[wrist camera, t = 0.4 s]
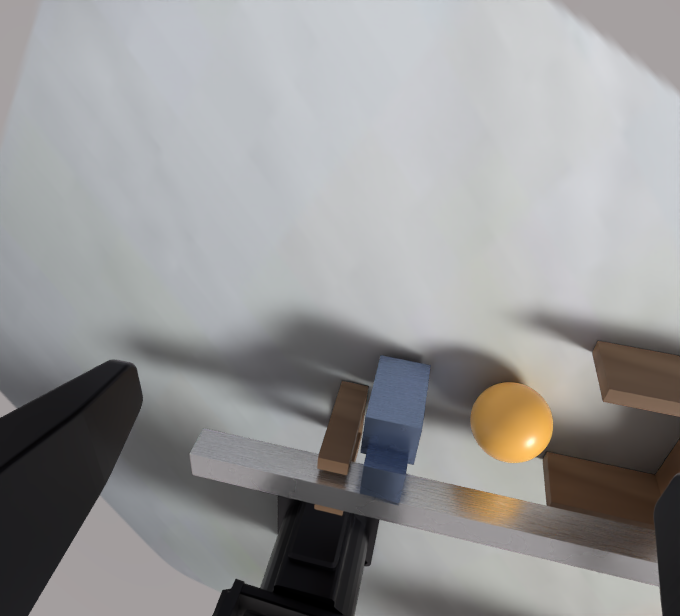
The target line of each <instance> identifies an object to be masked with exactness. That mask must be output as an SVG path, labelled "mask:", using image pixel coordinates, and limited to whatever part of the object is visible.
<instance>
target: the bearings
mask: <svg viewBox="0 0 680 616" xmlns="http://www.w3.org/2000/svg"><path fill="white" fill-rule="evenodd" d="M368 387H369V386H365V385H360V384H355V383H350V382H345V381H342V382H341V385H340V389H339V392H338V395H337V398H336V401H335V405H334V408H333V411H332V414H331V417H330V420H329V424H328V427H327V430H326V433H325V436H324V440H323V443H322V446H321V449H320V452H319V456H318V463H317V469H321V470H326V471H330V472H334V473H339V474H343V475H347V474H348V470H349V466H350V462H355V461H356V457H357V453H358V449H359V445H360V441H361V437H362V429H363V422H364V415H365V408H366V401H367V394H368ZM314 509H316V510H320V511H325V512H329V513H333V514H337V515H341V516H342V515H343V511H342V510H338V509H333V508H329V507H325V506H321V505H317V504H315V506H314Z"/></svg>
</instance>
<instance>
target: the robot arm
mask: <svg viewBox="0 0 680 616" xmlns="http://www.w3.org/2000/svg"><path fill="white" fill-rule="evenodd" d="M142 401H143V395H142V390H141V386H140V381H139V377H138V372H137V368H136V366H135V365H134V364H133V363H130V362H125V361H120V360H109V361H107V362H105V363H103V364H101V365H99V366H97V367H95V368H93V369H91V370H90V371H88V372H86V373H84V374H82V375H80V376H78V377H76V378H74V379H73V380H71V381H69V382H67V383H65V384H63V385H61V386H59V387H57V388H56V389H54V390H52V391H50V392H48V393H46V394H44V395H42V396H40V397H39V398H37V399H35V400H33V401H31V402H29V403H27V404H25V405H24V406H22V407H20V408H18V409H16V410H14V411H12V412H10V413H9V414H7V415H5V416H3V417H1V418H0V616H28V615H29V613H30V611H31V610H32V608H33V606H34V605H35V603H36V601H37V600H38V598H39V596H40V595H41V593H42V591H43V590H44V588H45V586H46V585H47V583H48V581H49V579H50V578H51V576H52V574H53V572H54V571H55V569H56V568H57V566H58V564H59V563H60V561H61V559H62V558H63V556H64V554H65V552H66V551H67V549H68V548H69V546H70V544H71V542H72V541H73V539H74V537H75V536H76V534H77V532H78V531H79V529H80V527H81V526H82V524H83V522H84V520H85V519H86V517H87V516H88V514H89V512H90V510H91V509H92V507H93V505H94V504H95V502H96V500H97V499H98V497H99V495H100V493H101V492H102V490H103V488H104V486H105V485H106V483H107V481H108V479H109V477H110V475H111V472H112V470H113V468H114V466H115V464H116V462H117V459H118V457H119V455H120V453H121V451H122V449H123V446H124V444H125V442H126V440H127V438H128V435H129V433H130V431H131V429H132V427H133V424H134V422H135V420H136V418H137V416H138V414H139V411H140V409H141V406H142ZM314 506H315V504H312V503H308V502H304V501H300V500H296V499H292V498H287V497H283V496H279V495H278V536H277V539H276V542H275V545H274V548H273V551H272V554H271V557H270V560H269V563H268V566H267V569H266V572H265V575H264V578H263V581H262V584H261V587H260V588H258V587H254V586H251V585H248V584H245V582H244V581H241V580H238V579H235V582H234V584H233V586H232V588H231V589H226V590H222V593H221V595H220V598H219V600H218V603H217V606H216V608H215V611H214V613H213V615H212V616H354V615H355V610H356V605H357V600H358V595H359V589H360V584H361V579H362V574H363V569H364V566H370V564H371V560H372V555H373V550H374V545H375V540H376V535H377V530H378V525H379V519H375V518H371V517H367V516H363V515H358V514H354V513H350V512H346V511H343V515H342V516H341V515H337V514H333V513H329V512H325V511H320V510H316V509H314ZM654 529H655V540H656V552H657V563H658V574H659V586H660V597H661V606H662V615H663V616H680V473H678V474H676V475H675V476H674V477H673V478H672V480H671V481H670V483H669V484H668V486H667V487H666V489H665V490H664V492H663V493H662V495H661V496H660V498H659V499H658V501H657V503H656V505H655V508H654Z"/></svg>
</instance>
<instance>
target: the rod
mask: <svg viewBox="0 0 680 616" xmlns="http://www.w3.org/2000/svg"><path fill="white" fill-rule="evenodd" d="M430 366H431V365H427V364H422V363H417V362H412V361H407V360H402V359H397V358H392V357H387V356H382V355H381V356H380V360H379V364H378V368H377V372H376V376H375V380H374V384H373V388H372V392H371V397H370V401H369V405H368V409H367V413H366V417H365V424H364V431H363V438H362V445H361V452H360V453H363V454H366V458H365V462H364V464H360V463H355V462H350V466H349V470H348V474H347V475H343V474H339V473H334V472H330V471H326V470H321V469H317V463H318V456H319V454H316V453H311V452H307V451H303V450H298V449H294V448H289V447H285V446H281V445H276V444H272V443H267V442H263V441H258V440H254V439H250V438H245V437H241V436H236V435H232V434H228V433H223V432H219V431H214V430H210V429H206V428H203V430H202V432H201V433H200V435H199V437H198V439H197V441H196V443H195V444H194V446H193V448H192V450H191V452H190V454H189V455H190V461H191V468H192V474H193V475H196V476H200V477H204V478H208V479H212V480H216V481H221V482H225V483H229V484H233V485H237V486H241V487H246V488H250V489H254V490H258V491H262V492H267V493H271V494H275V495H279V496H283V497H287V498H292V499H296V500H300V501H304V502H308V503H312V504H317V505H321V506H325V507H329V508H333V509H338V510H342V511H346V512H350V513H354V514H358V515H363V516H367V517H371V518H375V519H379V520H383V521H388V522H392V523H396V524H400V525H404V526H409V527H413V528H417V529H421V530H425V531H429V532H434V533H438V534H442V535H446V536H450V537H454V538H459V539H463V540H467V541H471V542H475V543H480V544H484V545H488V546H492V547H496V548H500V549H505V550H509V551H513V552H517V553H521V554H525V555H530V556H534V557H538V558H542V559H546V560H551V561H555V562H559V563H563V564H567V565H571V566H576V567H580V568H584V569H588V570H592V571H596V572H601V573H605V574H609V575H613V576H617V577H622V578H626V579H630V580H634V581H638V582H642V583H647V584H651V585H655V586H659V574H658V563H657V552H656V540H655V530H651V529H647V528H642V527H638V526H633V525H629V524H624V523H620V522H616V521H611V520H607V519H602V518H598V517H594V516H589V515H585V514H580V513H576V512H572V511H567V510H563V509H558V508H554V507H549V506H545V505H541V504H536V503H532V502H527V501H523V500H519V499H514V498H510V497H505V496H501V495H497V494H492V493H488V492H483V491H479V490H475V489H470V488H466V487H461V486H457V485H452V484H448V483H444V482H439V481H435V480H430V479H426V478H422V477H417V476H413V475H408V474H406V470H407V463H408V464H412V465H414V461H415V457H416V453H417V448H418V444H419V440H420V436H421V432H422V426H423V419H424V411H425V404H426V396H427V389H428V381H429V374H430ZM659 587H660V586H659Z"/></svg>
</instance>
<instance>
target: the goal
mask: <svg viewBox="0 0 680 616" xmlns="http://www.w3.org/2000/svg"><path fill="white" fill-rule="evenodd" d="M592 354H593V359H594V363H595V368H596V372H597V377H598V381H599V386H600V390H601V395H602V399H603V402H608V403H613V404H618V405H623V406H628V407H633V408H638V409H643V410H648V411H653V412H658V413H663V414H668V415H673V416H678V417H680V356H678V355H672V354H667V353H662V352H656V351H651V350H645V349H640V348H635V347H629V346H624V345H619V344H613V343H608V342H602V341H597V343H596V346H595V348H594V350H593V352H592ZM543 470H544V481H545V492H546V504H547V506H549V507H554V508H558V509H563V510H567V511H572V512H576V513H580V514H585V515H589V516H594V517H598V518H602V519H607V520H611V521H616V522H620V523H624V524H629V525H633V526H638V527H642V528H647V529H651V530H655V529H654V508H655V505H656V503H657V501H658V499H659V498H660V496H661V495H662V493H663V492H664V490H665V489H666V487H667V486H668V484H669V483H670V481H671V480H672V478H673V477H674V476H675V475H676V474H678V473H680V439H679V440H678V442H677V443H676V445H675V446H674V448H673V449H672V451H671V452H670V454H669V455H668V457H667V458H666V460H665V461H664V463H663V464H662V466H661V467H660V469H659V470H658V472H657V473H656V475H653V474H648V473H644V472H639V471H634V470H630V469H625V468H620V467H616V466H611V465H606V464H602V463H597V462H592V461H588V460H583V459H578V458H574V457H569V456H564V455H560V454H555V453H550V452H546V454H545V456H544V458H543Z"/></svg>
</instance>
